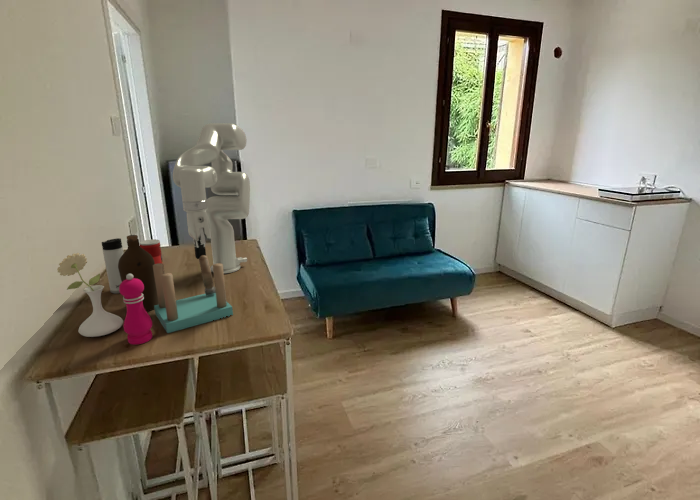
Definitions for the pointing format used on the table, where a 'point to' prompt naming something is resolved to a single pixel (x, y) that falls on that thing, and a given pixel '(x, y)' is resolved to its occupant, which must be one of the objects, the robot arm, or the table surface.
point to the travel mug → (113, 262)
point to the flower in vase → (99, 319)
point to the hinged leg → (206, 275)
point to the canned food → (153, 249)
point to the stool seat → (189, 302)
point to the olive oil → (139, 270)
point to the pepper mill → (135, 311)
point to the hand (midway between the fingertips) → (200, 257)
